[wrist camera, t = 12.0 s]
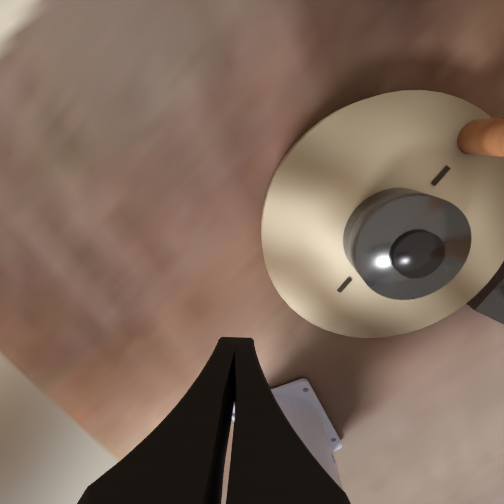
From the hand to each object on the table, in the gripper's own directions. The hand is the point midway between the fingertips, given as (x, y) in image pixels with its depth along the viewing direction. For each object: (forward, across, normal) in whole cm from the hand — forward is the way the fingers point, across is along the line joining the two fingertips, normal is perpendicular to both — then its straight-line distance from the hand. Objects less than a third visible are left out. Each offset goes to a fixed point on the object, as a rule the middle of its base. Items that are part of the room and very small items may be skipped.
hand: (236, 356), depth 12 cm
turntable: (+10, -9, -3) cm, 14 cm away
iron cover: (+8, -9, -3) cm, 13 cm away
